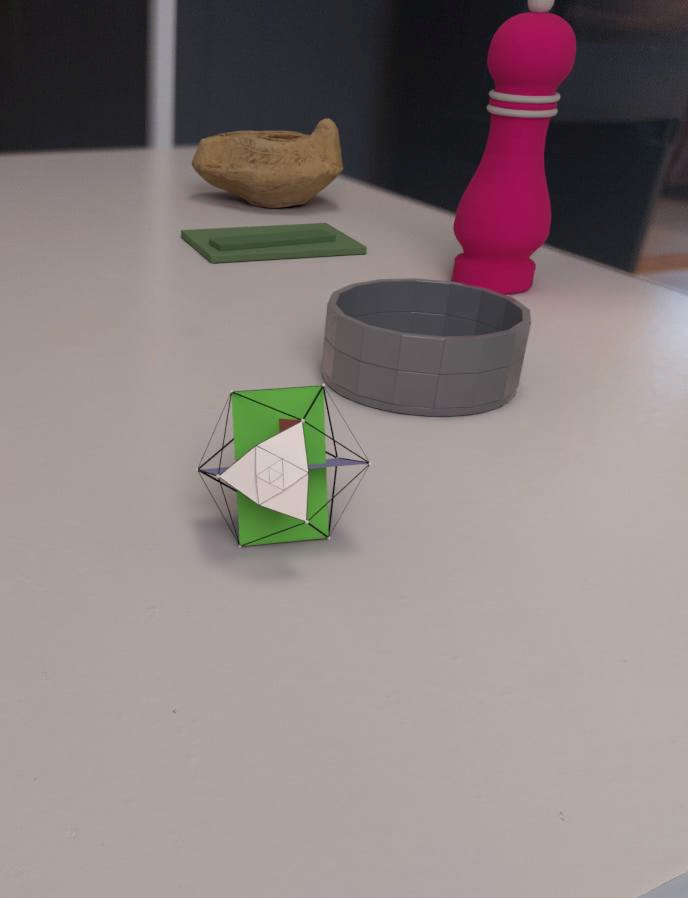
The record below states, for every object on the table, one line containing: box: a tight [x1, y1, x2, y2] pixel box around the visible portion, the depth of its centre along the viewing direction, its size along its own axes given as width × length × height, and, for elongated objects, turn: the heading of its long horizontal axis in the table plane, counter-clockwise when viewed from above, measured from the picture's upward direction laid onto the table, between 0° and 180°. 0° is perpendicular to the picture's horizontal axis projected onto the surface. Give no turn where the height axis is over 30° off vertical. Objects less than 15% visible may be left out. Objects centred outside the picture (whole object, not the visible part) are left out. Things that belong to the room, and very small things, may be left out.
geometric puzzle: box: [195, 383, 373, 549], centre depth 45 cm, size 7×7×8 cm
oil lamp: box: [191, 118, 344, 209], centre depth 102 cm, size 11×15×8 cm
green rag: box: [180, 222, 368, 264], centre depth 90 cm, size 14×9×1 cm, turn 107°
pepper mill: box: [451, 0, 577, 295], centre depth 76 cm, size 7×7×20 cm
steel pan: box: [321, 277, 532, 417], centre depth 62 cm, size 12×12×4 cm
